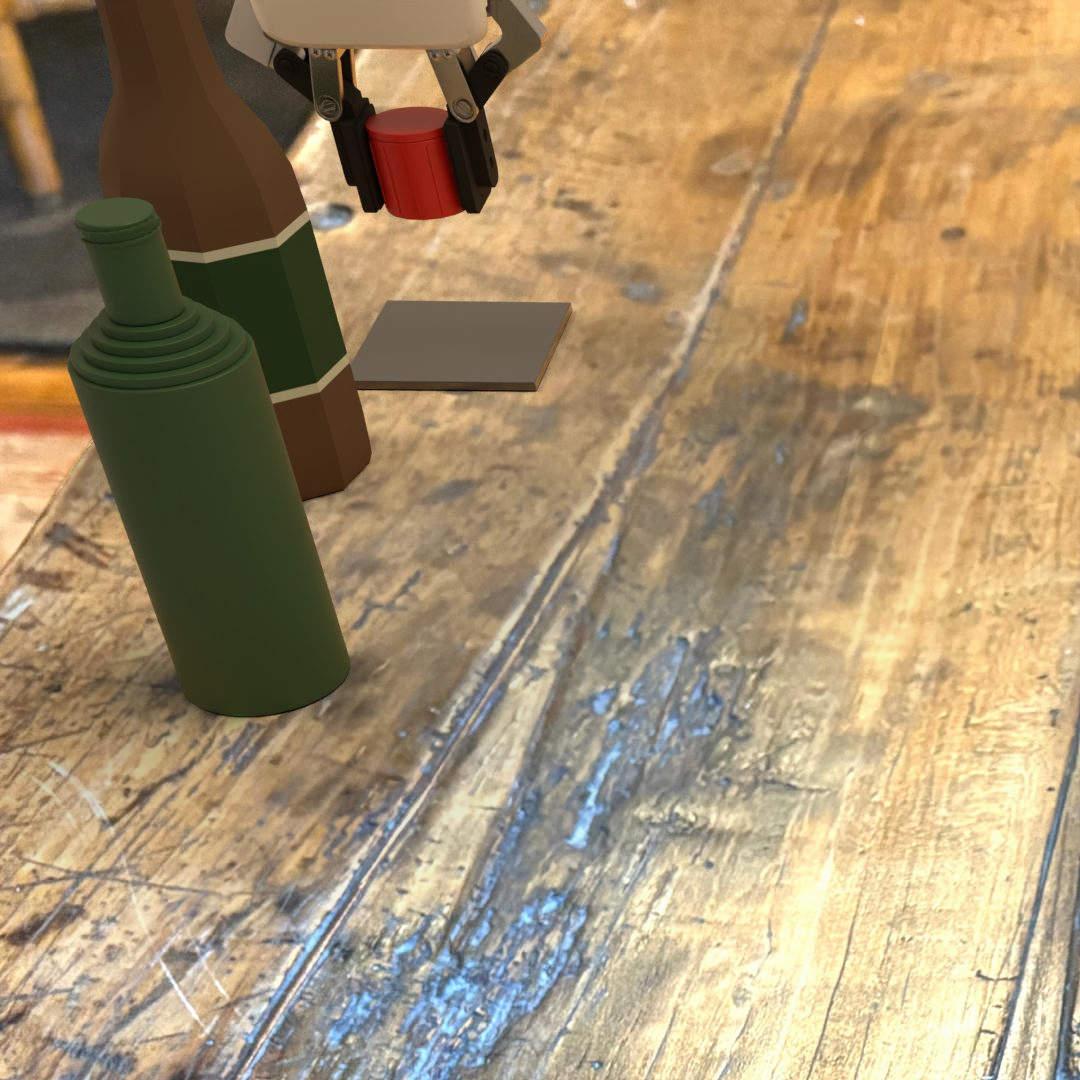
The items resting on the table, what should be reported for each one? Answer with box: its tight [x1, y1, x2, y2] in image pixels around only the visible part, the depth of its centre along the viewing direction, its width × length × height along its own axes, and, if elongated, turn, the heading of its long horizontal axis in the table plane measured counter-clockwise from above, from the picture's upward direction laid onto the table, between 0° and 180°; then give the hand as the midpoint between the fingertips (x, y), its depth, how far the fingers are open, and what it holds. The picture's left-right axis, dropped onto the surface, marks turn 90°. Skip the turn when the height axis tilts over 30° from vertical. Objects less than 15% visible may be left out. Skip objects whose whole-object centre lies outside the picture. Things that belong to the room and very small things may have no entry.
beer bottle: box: [94, 0, 373, 501], centre depth 105 cm, size 8×8×24 cm
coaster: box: [350, 299, 573, 392], centre depth 122 cm, size 9×9×1 cm
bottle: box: [66, 198, 351, 717], centre depth 95 cm, size 6×6×18 cm
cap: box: [365, 106, 466, 221], centre depth 116 cm, size 4×4×4 cm
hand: (427, 197), depth 117 cm, fingers closed on cap, 3 cm apart
